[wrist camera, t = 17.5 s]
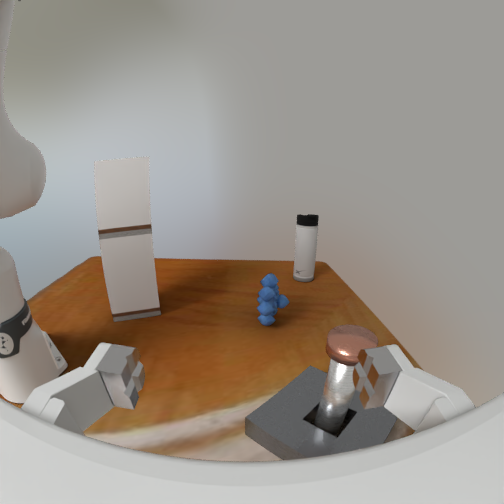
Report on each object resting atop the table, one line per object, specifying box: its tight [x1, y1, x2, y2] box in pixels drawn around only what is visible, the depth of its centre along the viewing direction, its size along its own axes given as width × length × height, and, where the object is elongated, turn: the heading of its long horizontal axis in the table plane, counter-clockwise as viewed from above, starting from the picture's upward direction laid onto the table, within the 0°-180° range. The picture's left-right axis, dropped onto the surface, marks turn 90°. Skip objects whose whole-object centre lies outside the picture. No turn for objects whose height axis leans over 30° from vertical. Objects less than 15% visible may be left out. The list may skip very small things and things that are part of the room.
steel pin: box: [314, 325, 378, 437], centre depth 27 cm, size 5×5×16 cm
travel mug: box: [293, 215, 318, 282], centre depth 79 cm, size 6×7×20 cm
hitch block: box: [245, 366, 398, 460], centre depth 29 cm, size 16×14×4 cm
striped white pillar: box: [94, 157, 161, 322], centre depth 57 cm, size 11×11×35 cm
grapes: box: [257, 273, 289, 326], centre depth 55 cm, size 12×7×12 cm, turn 170°
